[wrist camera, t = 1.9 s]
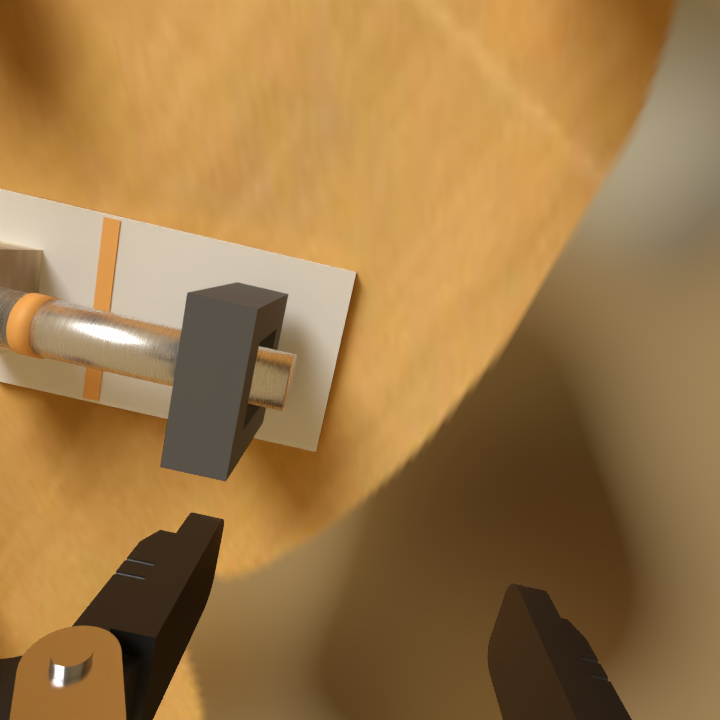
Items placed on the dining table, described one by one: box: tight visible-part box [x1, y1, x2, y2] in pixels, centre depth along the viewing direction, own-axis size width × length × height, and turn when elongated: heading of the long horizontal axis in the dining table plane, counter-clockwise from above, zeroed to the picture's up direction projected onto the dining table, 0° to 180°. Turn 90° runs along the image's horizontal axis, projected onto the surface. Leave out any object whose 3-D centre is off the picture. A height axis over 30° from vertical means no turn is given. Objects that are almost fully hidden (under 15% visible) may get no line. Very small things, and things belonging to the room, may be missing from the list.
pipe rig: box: [0, 189, 357, 452], centre depth 27 cm, size 12×22×10 cm, turn 77°
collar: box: [160, 282, 288, 481], centre depth 25 cm, size 8×3×8 cm, turn 167°
